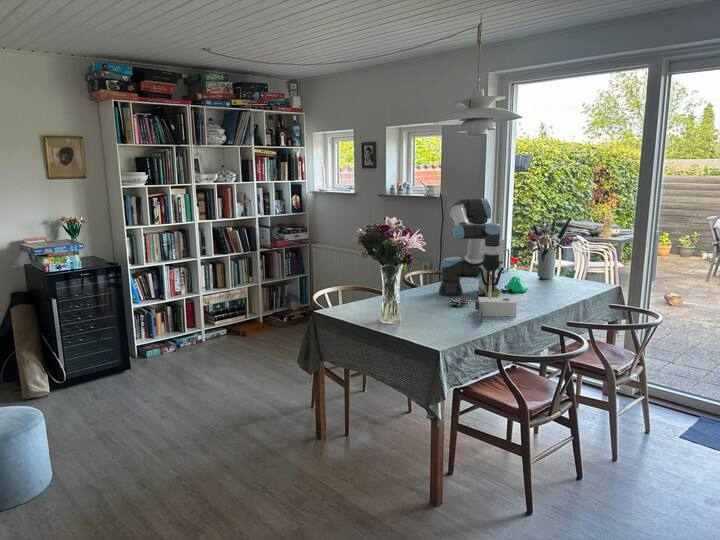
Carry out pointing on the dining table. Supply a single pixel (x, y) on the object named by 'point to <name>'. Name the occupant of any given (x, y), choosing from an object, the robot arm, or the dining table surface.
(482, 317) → the side door
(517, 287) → the camera mount
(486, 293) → the plant pot
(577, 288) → the dining table surface
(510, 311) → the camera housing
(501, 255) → the display case
